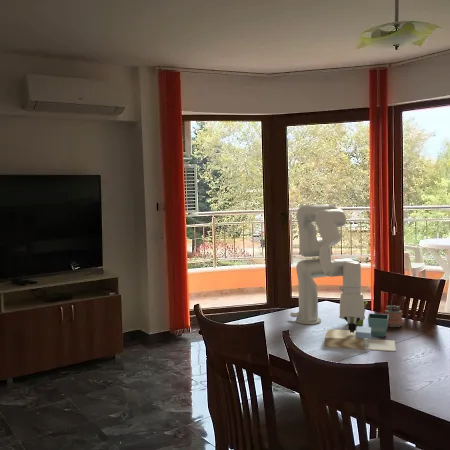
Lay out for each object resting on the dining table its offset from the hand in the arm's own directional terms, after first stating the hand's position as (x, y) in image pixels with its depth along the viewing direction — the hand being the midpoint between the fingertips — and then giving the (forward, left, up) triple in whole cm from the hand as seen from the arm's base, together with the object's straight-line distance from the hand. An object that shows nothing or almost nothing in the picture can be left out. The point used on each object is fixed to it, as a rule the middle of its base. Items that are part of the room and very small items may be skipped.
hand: (352, 331), depth 220 cm
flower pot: (+11, +15, -6) cm, 19 cm away
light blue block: (+5, 0, 0) cm, 5 cm away
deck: (-3, 0, -5) cm, 6 cm away
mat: (+11, 0, -5) cm, 13 cm away
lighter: (+18, +33, -6) cm, 38 cm away
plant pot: (0, +32, -5) cm, 33 cm away
